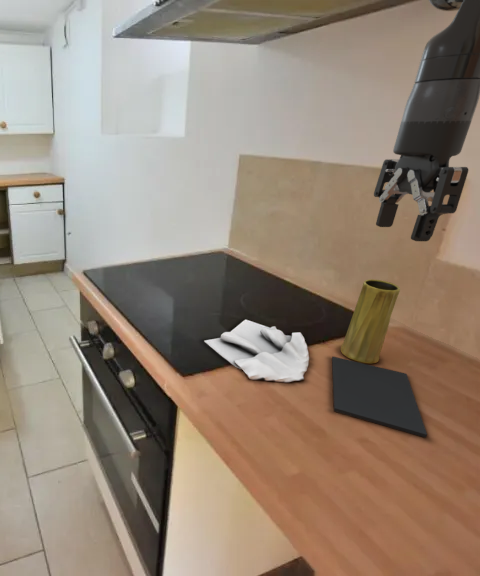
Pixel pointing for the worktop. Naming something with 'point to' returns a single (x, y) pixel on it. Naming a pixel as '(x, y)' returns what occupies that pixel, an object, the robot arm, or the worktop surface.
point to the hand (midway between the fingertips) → (400, 233)
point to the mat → (375, 396)
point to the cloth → (263, 352)
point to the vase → (370, 321)
